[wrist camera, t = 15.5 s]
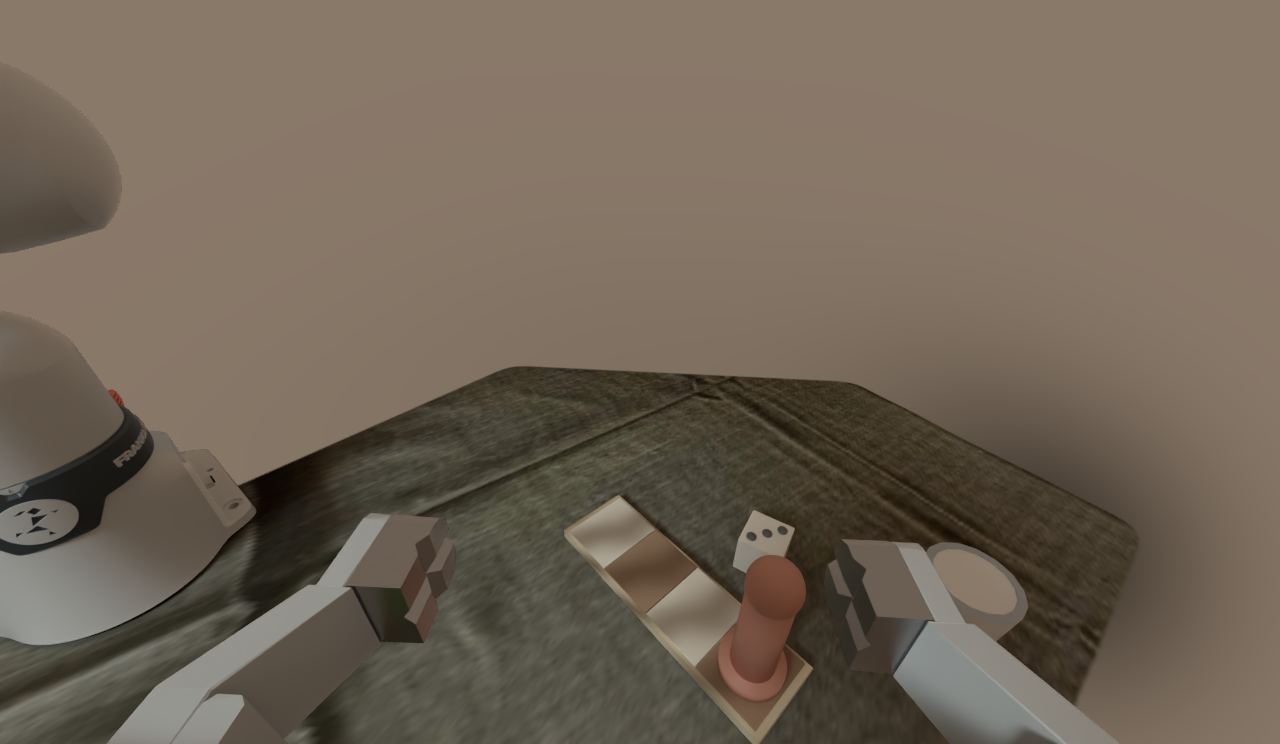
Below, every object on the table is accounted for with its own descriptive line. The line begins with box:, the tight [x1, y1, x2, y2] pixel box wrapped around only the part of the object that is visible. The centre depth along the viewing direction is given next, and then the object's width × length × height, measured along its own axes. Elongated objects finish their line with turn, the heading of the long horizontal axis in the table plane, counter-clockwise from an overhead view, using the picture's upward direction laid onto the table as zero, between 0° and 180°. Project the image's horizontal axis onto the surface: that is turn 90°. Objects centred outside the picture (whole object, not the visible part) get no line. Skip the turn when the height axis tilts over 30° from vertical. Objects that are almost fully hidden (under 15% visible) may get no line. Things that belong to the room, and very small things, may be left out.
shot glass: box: [926, 542, 1028, 641], centre depth 37 cm, size 7×7×7 cm
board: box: [564, 495, 813, 744], centre depth 40 cm, size 23×7×1 cm, turn 42°
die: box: [733, 510, 795, 573], centre depth 43 cm, size 4×4×4 cm
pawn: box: [717, 555, 806, 703], centre depth 31 cm, size 5×5×12 cm
